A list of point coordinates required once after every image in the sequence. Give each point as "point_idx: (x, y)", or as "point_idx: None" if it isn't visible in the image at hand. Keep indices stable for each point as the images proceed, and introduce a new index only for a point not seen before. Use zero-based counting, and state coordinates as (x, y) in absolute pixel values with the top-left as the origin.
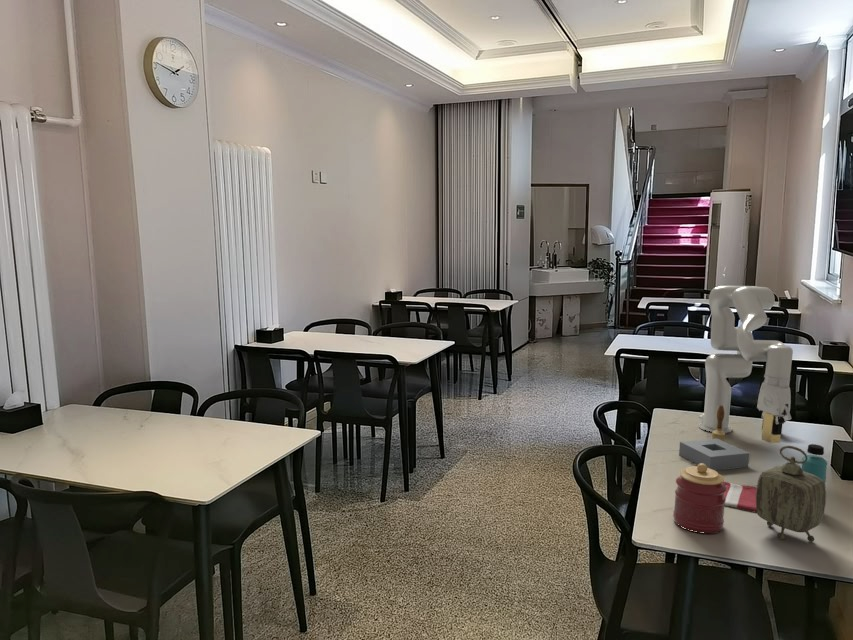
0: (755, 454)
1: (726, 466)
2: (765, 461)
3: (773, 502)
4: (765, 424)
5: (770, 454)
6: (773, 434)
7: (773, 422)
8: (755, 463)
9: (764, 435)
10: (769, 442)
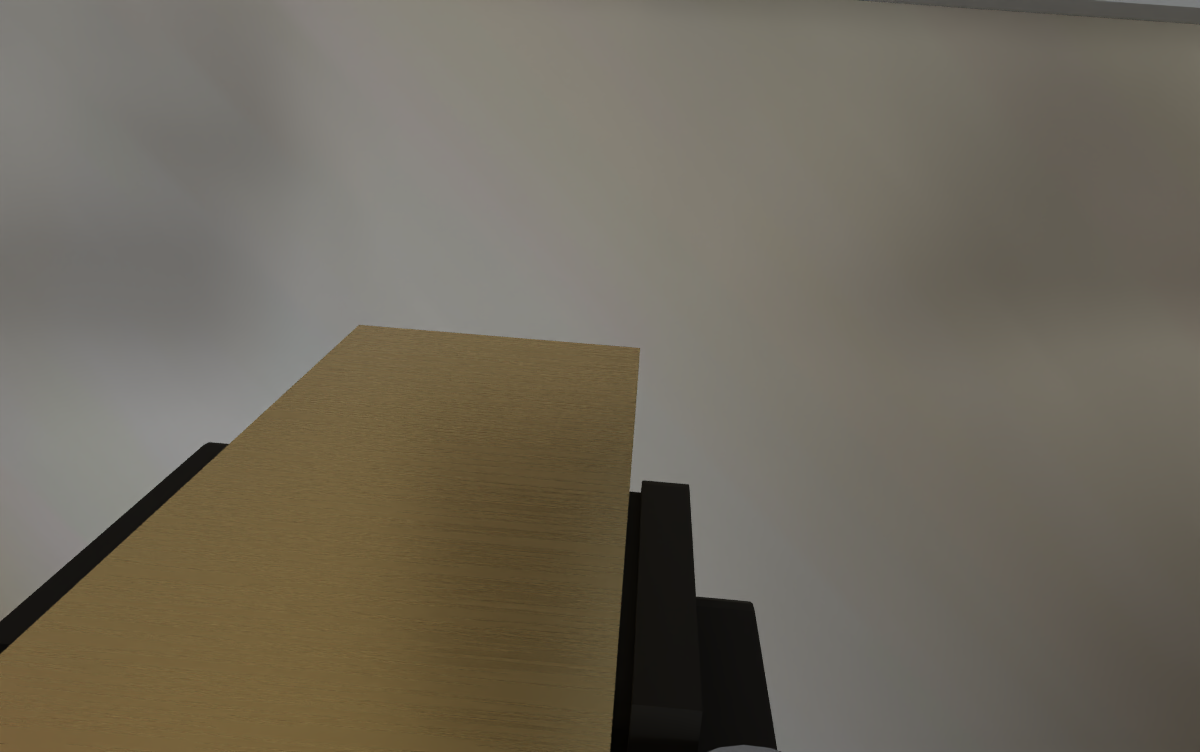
0: (977, 523)
1: None
2: (719, 431)
3: None
4: (496, 549)
5: (889, 695)
6: (228, 444)
7: (28, 672)
8: (709, 228)
9: (545, 388)
10: (382, 330)
